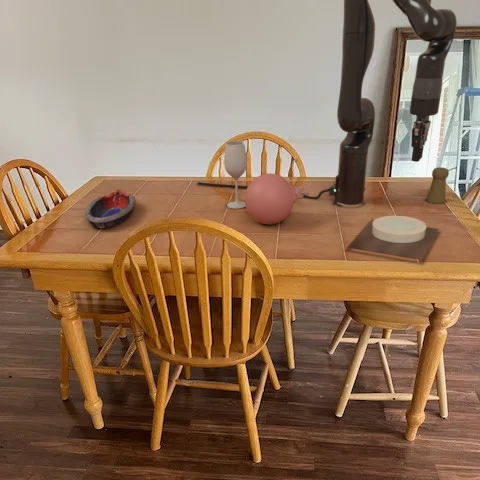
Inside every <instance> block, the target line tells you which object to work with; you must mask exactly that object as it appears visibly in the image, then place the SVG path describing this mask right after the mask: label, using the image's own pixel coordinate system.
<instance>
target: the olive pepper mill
mask: <svg viewBox="0 0 480 480" xmlns="http://www.w3.org/2000/svg"><path fill="white" fill-rule="evenodd" d="M449 173H450V172H449V169H448V168H447V167H435V168H434V169H433V170H432V172H431V176H432V181H431V183H430V187H429V189H428V193H427V196H426V201H427V202H428V203H431V204H443V203H445V202H446V188H447V187H446V186H447V178H448V177H449Z"/></svg>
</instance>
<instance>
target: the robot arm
mask: <svg viewBox="0 0 480 480" xmlns="http://www.w3.org/2000/svg"><path fill="white" fill-rule="evenodd" d="M391 1H392V3H394V5H395V6H396V7H397V9H399V11H400V12H401V13H402V14H403V15H404V16H405V17H406V19H407V20H408V23H409V25H410V27H411V29H412V31H413V33H414V34H415V36H416V37H417V38H418V39H419V40H421V41H423V42H426V43H428V45H427V48H426V50H425V51H424V52H422V53H420V54H419V55H418V57H417V61H416V68H415V76H414V81H413V85H412V91H411V98H410V105H409V107H410V108H409V114H410V115H412V116H416V119H415V121H413V124H412V129H411V148H412V154H411V162H417V163H419V162H420V160H422V158H423V153H424V146H425V145H426V142H427V141H428V136H429V131H430V127H431V124H432V122H431V120H430V117H431V116H435V115H438V113H439V109H440V102H441V97H442V91H443V79H444V78H443V77H444V71H445V65H446V59H447V56H448V54H449V52H450V49H451V47H452V44H453V41H454V39H455V36H456V32H457V27H458V26H457V25H458V23H457V22H458V21H457V15H456V14H455V12H454V11H452V9H448V8H441V9H439V8H438V9H435V8H434V7H433V6H432V5H431V4H432V0H391ZM342 24H343V25H342V41H341V43H342V44H341V45H342V46H341V72H340V73H341V74H340V87H339V95H338V103H337V112H336V118H337V119H336V120H337V124H338V126H339V128H340V129H341V130H342V131H343V132H344V133H346V135H345V137H344V138H343V140H342V141H340V144H339V152H338V153H339V154H338V166H337V167H338V168H337V175H336V176H335V181H334V183H333V184H332V185H331V186H329V187H328V188H327V189H323V190H321V191H319V192H318V194H317V195H316V196H311V195H307V194H306V195H304V196H303V198H305V199H310V200H318V199H319V198H321V196H322V195H323V194H325V193H328V196H331V197H334V199H333V204H334V205H338V206H339V207H343V206H357V205H361V204H364V203H365V202H364V201H365V200H364V199H365V192H366V179H367V169H368V168H367V167H368V157H369V148H370V145H371V144H372V141H373V137H374V128H375V122H376V110H375V105H374V103H373V101H372V100H371V99H369V98H367V97H362V92H363V85H364V84H363V83H364V78H365V75H366V73H367V70H368V68H369V66H370V63H371V60H372V57H373V54H374V49H375V39H376V22H375V17H374V15H373V10H372V8H371V4H370V2H369V0H343V22H342ZM197 185H200V186H209V187H210V186H211V187H221V188H222V187H223V188H235V189H236V187H235V184H225V183H224V184H223V183H214V182H213V183H212V182H203V181H198V182H197ZM237 185H238V189H247V188H248V186H249V185H239V184H237Z"/></svg>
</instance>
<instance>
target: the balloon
mask: <svg viewBox="0 0 480 480" xmlns="http://www.w3.org/2000/svg"><path fill="white" fill-rule="evenodd" d="M247 186H248V188H246V190H245V193H244V202H245V205H246V207H245V209H246V211H247V213H248V215H249V216H250V217H251V218H252V219H253V220H255V221H256V222H258V223H259V224H263V225H276V224H279V223H281V222H283V221H284V220H286V219H287V218H288V216H290V214H291V212H292V210H293V209H294V205H295V204H296V202H297V201H298V200H302V199H304V197H303V196H304V195H307V196H309V195H310V194H311V193H310V190H307V189H304V186H302V185H298V186H295V185H292V184H291V183H290V182H289V180H287V179H286V178H285V177H283V176H282V175H279V174H277V173H263V174H261V175H258V176H257V177H255V178H254V179H252V180H251V181H250V183H249V185H247Z"/></svg>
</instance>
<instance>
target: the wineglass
mask: <svg viewBox="0 0 480 480" xmlns="http://www.w3.org/2000/svg"><path fill="white" fill-rule="evenodd" d="M223 155H224V157H223V165H224V169H225V172H226V173H227V175H229V176H230V177H231V178H233V180H234V182H235V184H234V185H235V187H236V188H235V187H234V188H235V199H234V201H231V202H228V203H226V207H227V208H229V209H234V210H238V209H244V208H246V205H245V201H242V200H241V201H240V200H239V188H238V185H239V184H238V183H239V182H238V180H239V178H240V177H241V176H243V175H244V174H245V173H246V170H247V167H248V158H247V151H246V145H245V142H244V141H241V140H232V141H231V140H230V141H227V142H226V143H225V146H224V154H223Z"/></svg>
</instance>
